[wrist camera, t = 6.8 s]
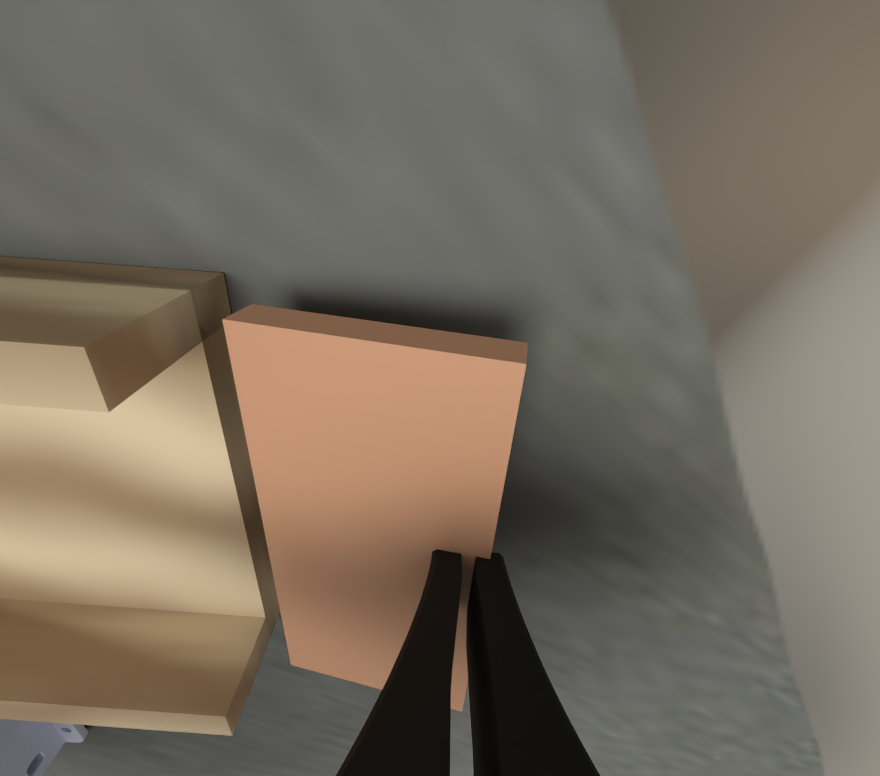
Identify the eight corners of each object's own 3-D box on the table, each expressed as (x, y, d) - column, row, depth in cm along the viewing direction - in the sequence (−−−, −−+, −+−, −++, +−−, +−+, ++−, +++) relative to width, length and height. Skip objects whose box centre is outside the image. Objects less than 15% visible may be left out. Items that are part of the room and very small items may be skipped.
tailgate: (312, 621, 16) (469, 661, 15) (291, 665, 15) (461, 711, 14) (267, 296, 10) (528, 331, 9) (222, 319, 8) (526, 363, 8)
